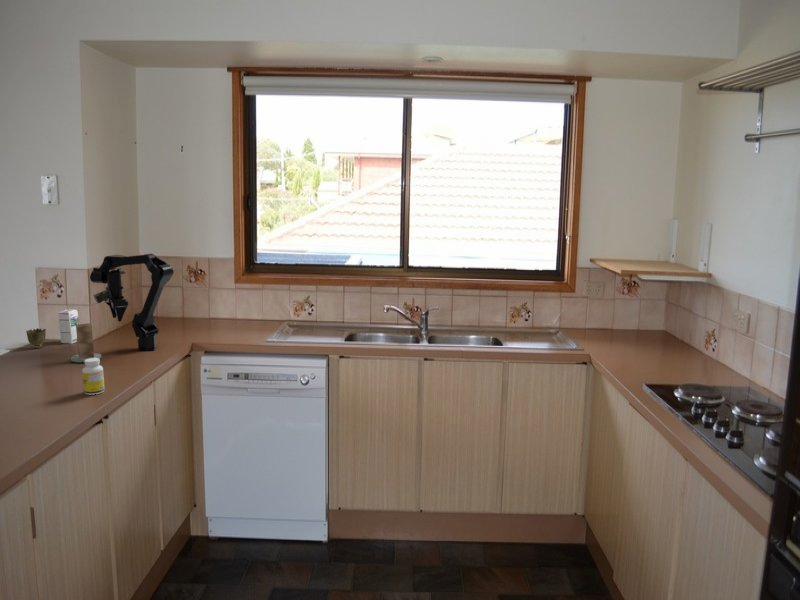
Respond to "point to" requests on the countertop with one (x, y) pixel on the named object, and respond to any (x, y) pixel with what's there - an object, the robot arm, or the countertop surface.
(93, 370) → the pill bottle
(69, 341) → the syrup box
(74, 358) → the dish
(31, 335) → the cup
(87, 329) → the walnut block
